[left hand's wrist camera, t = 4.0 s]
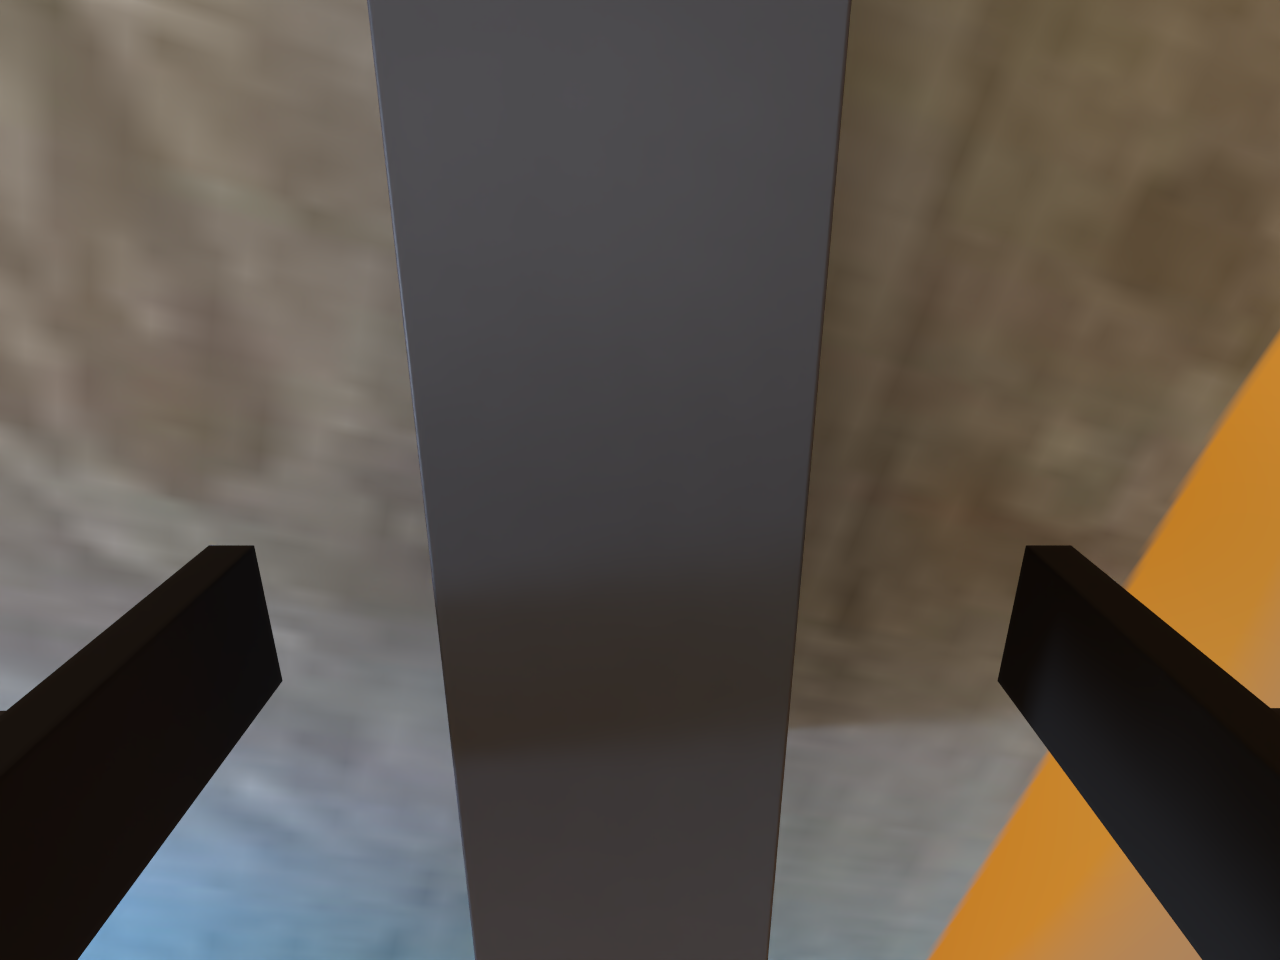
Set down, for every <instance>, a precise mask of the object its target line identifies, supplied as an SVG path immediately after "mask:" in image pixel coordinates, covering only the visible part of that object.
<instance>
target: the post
mask: <svg viewBox="0 0 1280 960" xmlns="http://www.w3.org/2000/svg"><path fill="white" fill-rule="evenodd" d="M367 3H368V12H369V20H370V29H371V38H372V47H373V56H374V65H375V74H376V83H377V92H378V100H379V109H380V118H381V127H382V136H383V145H384V154H385V163H386V171H387V180H388V189H389V198H390V207H391V216H392V225H393V234H394V243H395V251H396V260H397V269H398V278H399V287H400V296H401V305H402V314H403V322H404V331H405V340H406V349H407V358H408V367H409V376H410V385H411V393H412V402H413V411H414V420H415V429H416V438H417V447H418V456H419V465H420V473H421V482H422V491H423V500H424V509H425V518H426V527H427V536H428V544H429V553H430V562H431V571H432V580H433V589H434V598H435V607H436V615H437V624H438V633H439V642H440V651H441V660H442V669H443V678H444V687H445V695H446V704H447V713H448V722H449V731H450V740H451V749H452V758H453V766H454V775H455V784H456V793H457V802H458V811H459V820H460V829H461V837H462V846H463V855H464V864H465V873H466V882H467V891H468V900H469V909H470V917H471V926H472V935H473V944H474V953H475V960H768V950H769V939H770V927H771V916H772V905H773V893H774V882H775V870H776V859H777V847H778V836H779V824H780V813H781V801H782V790H783V779H784V767H785V756H786V744H787V733H788V721H789V710H790V698H791V687H792V675H793V664H794V653H795V641H796V630H797V618H798V607H799V595H800V584H801V572H802V561H803V549H804V538H805V527H806V515H807V504H808V492H809V481H810V469H811V458H812V446H813V435H814V423H815V412H816V401H817V389H818V378H819V366H820V355H821V343H822V332H823V320H824V309H825V297H826V286H827V275H828V263H829V252H830V240H831V229H832V217H833V206H834V194H835V183H836V171H837V160H838V148H839V137H840V126H841V114H842V103H843V91H844V80H845V68H846V57H847V45H848V34H849V22H850V11H851V0H367Z"/></svg>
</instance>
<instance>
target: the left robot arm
mask: <svg viewBox="0 0 1280 960" xmlns="http://www.w3.org/2000/svg"><path fill="white" fill-rule="evenodd" d="M281 682H282V677H281V672H280V667H279V662H278V658H277V653H276V648H275V643H274V639H273V634H272V629H271V624H270V619H269V615H268V610H267V605H266V600H265V596H264V591H263V586H262V581H261V577H260V572H259V567H258V562H257V558H256V553H255V548H254V546H208V547H207V548H205V549H204V550H203V551H202V552H200V553H199V554H198V555H197V556H196V557H194V558H193V559H192V560H191V561H189V562H188V563H187V564H186V565H185V566H183V567H182V568H181V569H180V570H178V571H177V572H176V573H175V574H173V575H172V576H171V577H170V578H169V579H167V580H166V581H165V582H164V583H162V584H161V585H160V586H159V587H158V588H156V589H155V590H154V591H153V592H151V593H150V594H149V595H148V596H147V597H145V598H144V599H143V600H142V601H140V602H139V603H138V604H137V605H135V606H134V607H133V608H132V609H131V610H129V611H128V612H127V613H126V614H124V615H123V616H122V617H121V618H120V619H118V620H117V621H116V622H115V623H113V624H112V625H111V626H110V627H109V628H107V629H106V630H105V631H104V632H102V633H101V634H100V635H99V636H97V637H96V638H95V639H94V640H93V641H91V642H90V643H89V644H88V645H86V646H85V647H84V648H83V649H82V650H80V651H79V652H78V653H77V654H75V655H74V656H73V657H72V658H71V659H69V660H68V661H67V662H66V663H64V664H63V665H62V666H61V667H60V668H58V669H57V670H56V671H55V672H53V673H52V674H51V675H50V676H48V677H47V678H46V679H45V680H44V681H42V682H41V683H40V684H39V685H37V686H36V687H35V688H34V689H33V690H31V691H30V692H29V693H28V694H26V695H25V696H24V697H23V698H22V699H20V700H19V701H18V702H17V703H15V704H14V705H13V706H12V707H10V708H9V709H8V710H7V711H0V960H78V958H79V957H80V956H81V954H82V953H83V952H84V950H85V949H86V948H87V946H88V945H89V944H90V942H91V941H92V939H93V938H94V937H95V935H96V934H97V933H98V931H99V930H100V929H101V927H102V926H103V924H104V923H105V922H106V920H107V919H108V918H109V916H110V915H111V914H112V912H113V911H114V909H115V908H116V907H117V905H118V904H119V903H120V901H121V900H122V899H123V897H124V896H125V894H126V893H127V892H128V890H129V889H130V888H131V886H132V885H133V884H134V882H135V881H136V879H137V878H138V877H139V875H140V874H141V873H142V871H143V870H144V869H145V867H146V866H147V865H148V863H149V862H150V860H151V859H152V858H153V856H154V855H155V854H156V852H157V851H158V850H159V848H160V847H161V845H162V844H163V843H164V841H165V840H166V839H167V837H168V836H169V835H170V833H171V832H172V830H173V829H174V828H175V826H176V825H177V824H178V822H179V821H180V820H181V818H182V817H183V815H184V814H185V813H186V811H187V810H188V809H189V807H190V806H191V805H192V803H193V802H194V801H195V799H196V798H197V796H198V795H199V794H200V792H201V791H202V790H203V788H204V787H205V786H206V784H207V783H208V781H209V780H210V779H211V777H212V776H213V775H214V773H215V772H216V771H217V769H218V768H219V766H220V765H221V764H222V762H223V761H224V760H225V758H226V757H227V756H228V754H229V753H230V751H231V750H232V749H233V747H234V746H235V745H236V743H237V742H238V741H239V739H240V738H241V737H242V735H243V734H244V732H245V731H246V730H247V728H248V727H249V726H250V724H251V723H252V722H253V720H254V719H255V717H256V716H257V715H258V713H259V712H260V711H261V709H262V708H263V707H264V705H265V704H266V702H267V701H268V700H269V698H270V697H271V696H272V694H273V693H274V692H275V690H276V689H277V687H278V686H279V685H280V683H281ZM998 682H999V683H1000V685H1001V686H1002V687H1003V689H1004V690H1005V692H1006V693H1007V694H1008V696H1009V697H1010V698H1011V700H1012V701H1013V702H1014V704H1015V705H1016V707H1017V708H1018V709H1019V711H1020V712H1021V713H1022V715H1023V716H1024V717H1025V719H1026V720H1027V722H1028V723H1029V724H1030V726H1031V727H1032V728H1033V730H1034V731H1035V732H1036V734H1037V735H1038V737H1039V738H1040V739H1041V741H1042V742H1043V743H1044V745H1045V746H1046V747H1047V749H1048V750H1049V751H1050V753H1051V754H1052V756H1053V757H1054V758H1055V760H1056V761H1057V762H1058V764H1059V765H1060V766H1061V768H1062V769H1063V771H1064V772H1065V773H1066V775H1067V776H1068V777H1069V779H1070V780H1071V781H1072V783H1073V784H1074V786H1075V787H1076V788H1077V790H1078V791H1079V792H1080V794H1081V795H1082V796H1083V798H1084V799H1085V800H1086V802H1087V803H1088V805H1089V806H1090V807H1091V809H1092V810H1093V811H1094V813H1095V814H1096V815H1097V817H1098V818H1099V819H1100V821H1101V822H1102V824H1103V825H1104V826H1105V828H1106V829H1107V830H1108V832H1109V833H1110V835H1111V836H1112V837H1113V839H1114V840H1115V841H1116V843H1117V844H1118V845H1119V847H1120V848H1121V849H1122V851H1123V852H1124V854H1125V855H1126V856H1127V858H1128V859H1129V860H1130V862H1131V863H1132V865H1133V866H1134V867H1135V869H1136V870H1137V871H1138V873H1139V874H1140V875H1141V877H1142V878H1143V879H1144V881H1145V882H1146V884H1147V885H1148V886H1149V888H1150V889H1151V890H1152V892H1153V893H1154V894H1155V896H1156V897H1157V899H1158V900H1159V901H1160V903H1161V904H1162V905H1163V907H1164V908H1165V909H1166V911H1167V912H1168V913H1169V915H1170V916H1171V917H1172V919H1173V920H1174V922H1175V923H1176V924H1177V926H1178V927H1179V928H1180V930H1181V931H1182V933H1183V934H1184V935H1185V937H1186V938H1187V939H1188V941H1189V942H1190V944H1191V945H1192V946H1193V947H1194V949H1195V950H1196V952H1197V953H1198V954H1199V956H1200V957H1201V958H1202V960H1280V708H1270V707H1268V706H1267V705H1266V704H1265V703H1263V702H1262V701H1261V700H1260V699H1258V698H1257V697H1256V696H1255V695H1254V694H1252V693H1251V692H1250V691H1249V690H1247V689H1246V688H1245V687H1244V686H1243V685H1241V684H1240V683H1239V682H1238V681H1236V680H1235V679H1234V678H1233V677H1232V676H1230V675H1229V674H1228V673H1227V672H1225V671H1224V670H1223V669H1222V668H1220V667H1219V666H1218V665H1217V664H1216V663H1214V662H1213V661H1212V660H1211V659H1209V658H1208V657H1207V656H1206V655H1204V654H1203V653H1202V652H1201V651H1200V650H1198V649H1197V648H1196V647H1195V646H1194V645H1192V644H1191V643H1190V642H1189V641H1187V640H1186V639H1185V638H1184V637H1183V636H1181V635H1180V634H1179V633H1178V632H1176V631H1175V630H1174V629H1173V628H1171V627H1170V626H1169V625H1168V624H1167V623H1165V622H1164V621H1163V620H1162V619H1160V618H1159V617H1158V616H1157V615H1156V614H1154V613H1153V612H1152V611H1151V610H1149V609H1148V608H1147V607H1146V606H1144V605H1143V604H1142V603H1141V602H1140V601H1138V600H1137V599H1136V598H1135V597H1133V596H1132V595H1131V594H1130V593H1129V592H1127V591H1126V590H1125V589H1124V588H1122V587H1121V586H1120V585H1119V584H1118V583H1116V582H1115V581H1114V580H1113V579H1111V578H1110V577H1109V576H1108V575H1107V574H1105V573H1104V572H1103V571H1102V570H1100V569H1099V568H1098V567H1097V566H1095V565H1094V564H1093V563H1092V562H1091V561H1089V560H1088V559H1087V558H1086V557H1084V556H1083V555H1082V554H1081V553H1080V552H1078V551H1077V550H1076V549H1075V548H1073V547H1072V546H1026V548H1025V553H1024V558H1023V562H1022V567H1021V572H1020V577H1019V581H1018V586H1017V591H1016V596H1015V600H1014V605H1013V610H1012V615H1011V619H1010V624H1009V629H1008V634H1007V639H1006V643H1005V648H1004V653H1003V658H1002V662H1001V667H1000V672H999V677H998Z"/></svg>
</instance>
